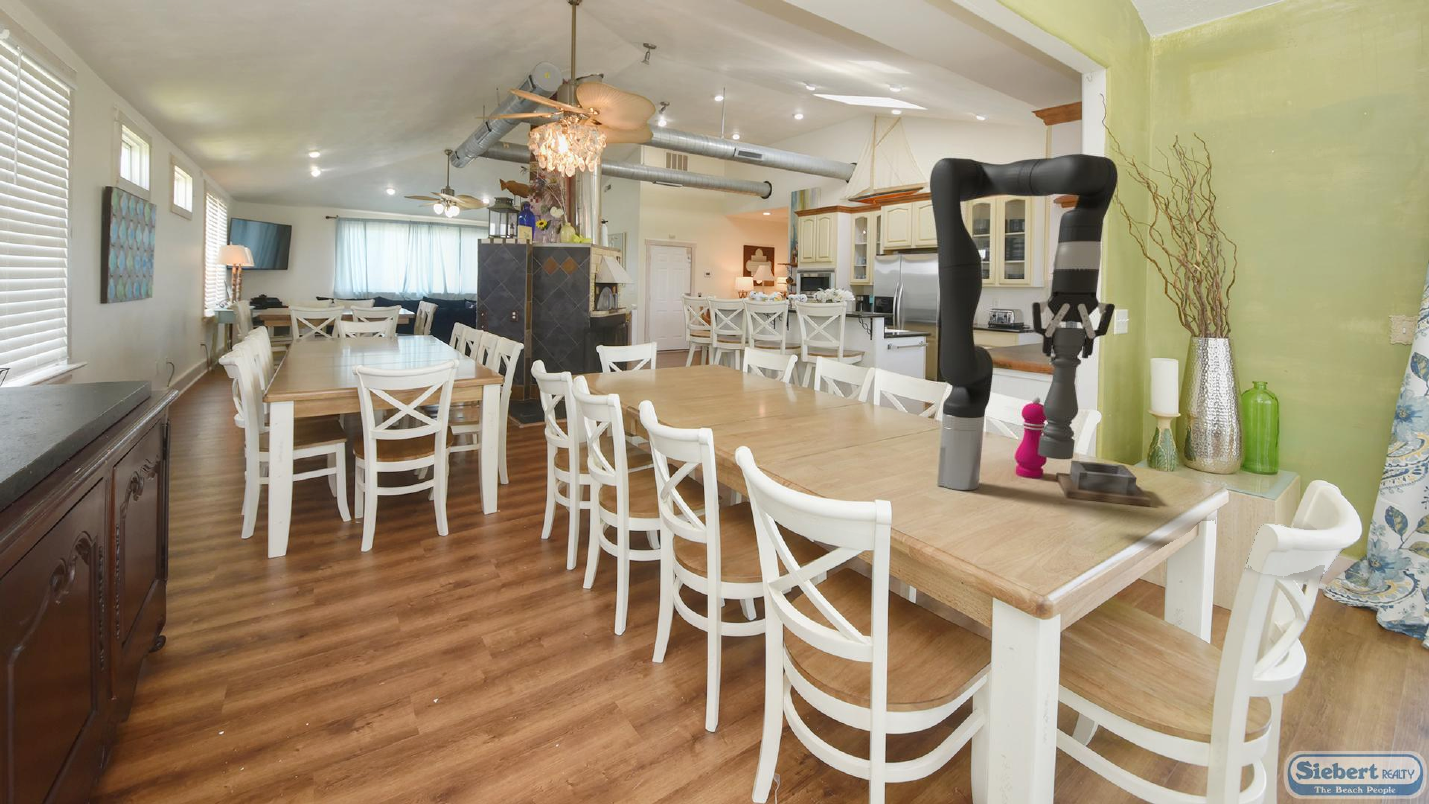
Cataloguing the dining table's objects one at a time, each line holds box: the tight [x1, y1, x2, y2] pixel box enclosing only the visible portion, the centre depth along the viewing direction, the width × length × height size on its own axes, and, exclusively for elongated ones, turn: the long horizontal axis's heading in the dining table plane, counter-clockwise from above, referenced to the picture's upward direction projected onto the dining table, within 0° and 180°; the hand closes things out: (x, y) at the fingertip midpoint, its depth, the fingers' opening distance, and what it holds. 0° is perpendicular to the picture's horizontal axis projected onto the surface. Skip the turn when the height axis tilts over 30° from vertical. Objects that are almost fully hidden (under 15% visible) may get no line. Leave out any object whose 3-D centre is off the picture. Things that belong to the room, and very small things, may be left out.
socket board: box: [1055, 459, 1152, 507], centre depth 147 cm, size 16×16×6 cm
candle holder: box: [1038, 326, 1086, 460], centre depth 123 cm, size 6×6×25 cm
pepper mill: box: [1014, 396, 1047, 479], centre depth 159 cm, size 7×7×20 cm
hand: (1066, 356), depth 121 cm, fingers closed on candle holder, 5 cm apart
